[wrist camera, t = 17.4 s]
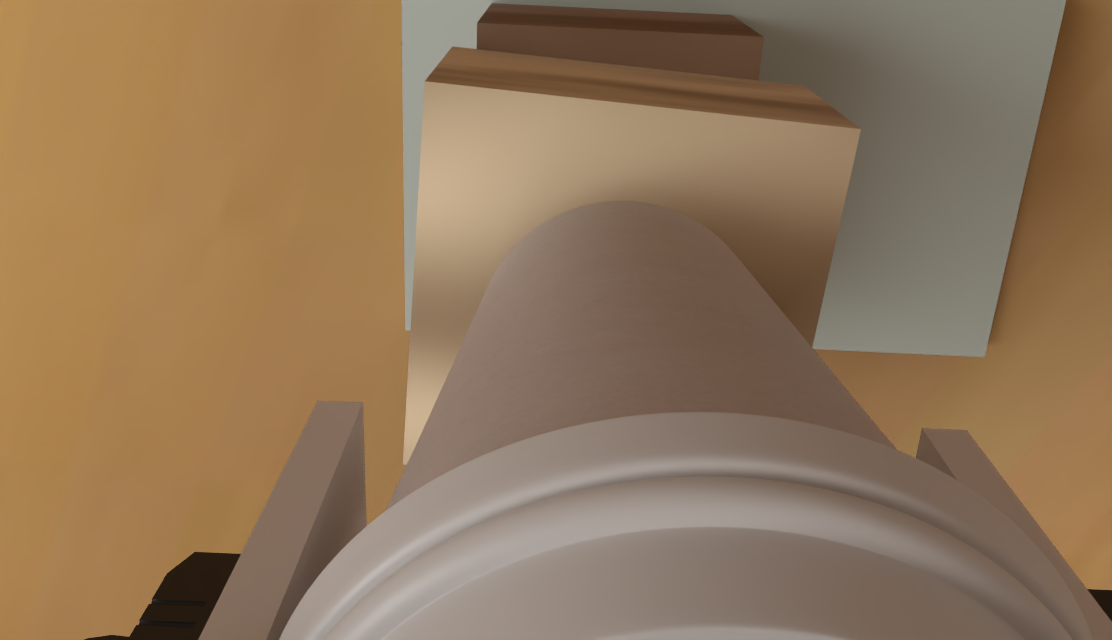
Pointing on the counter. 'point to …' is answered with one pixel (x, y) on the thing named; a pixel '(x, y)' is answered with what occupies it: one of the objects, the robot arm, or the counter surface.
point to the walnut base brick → (625, 38)
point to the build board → (863, 144)
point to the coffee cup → (667, 475)
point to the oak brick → (613, 179)
